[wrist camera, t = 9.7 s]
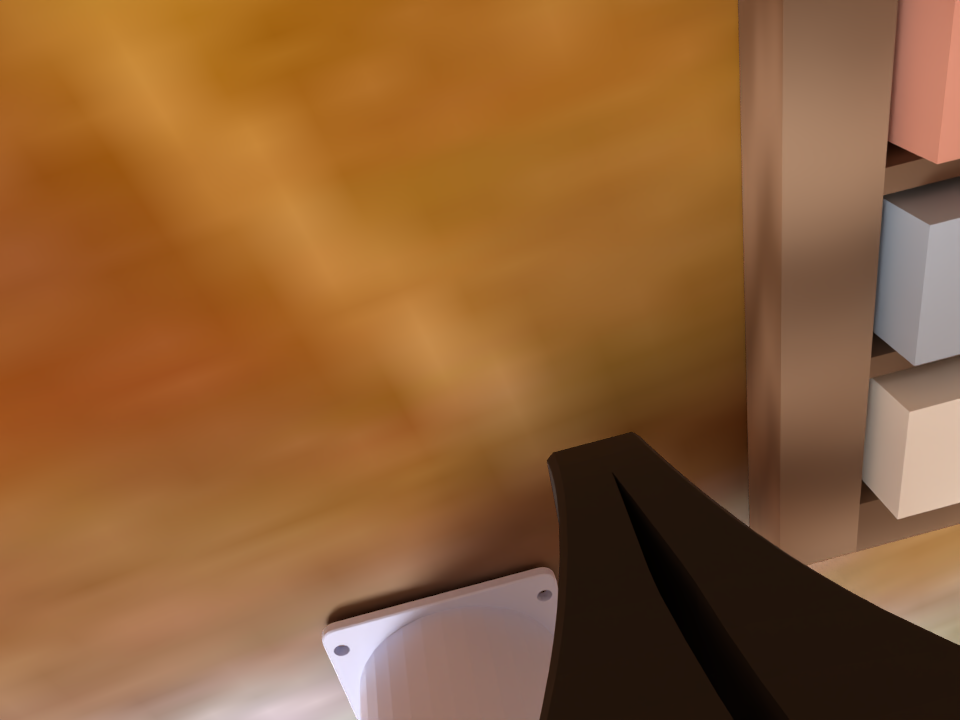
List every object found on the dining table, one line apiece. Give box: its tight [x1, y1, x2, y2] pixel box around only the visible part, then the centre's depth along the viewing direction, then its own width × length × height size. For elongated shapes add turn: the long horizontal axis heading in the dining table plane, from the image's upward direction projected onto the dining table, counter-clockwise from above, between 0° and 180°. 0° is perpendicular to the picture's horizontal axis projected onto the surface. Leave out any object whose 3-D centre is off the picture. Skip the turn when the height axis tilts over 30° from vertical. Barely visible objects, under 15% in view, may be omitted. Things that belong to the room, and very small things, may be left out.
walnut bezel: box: [738, 0, 960, 565], centre depth 22 cm, size 20×10×2 cm, turn 11°
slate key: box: [873, 176, 960, 366], centre depth 22 cm, size 4×4×3 cm
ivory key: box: [862, 355, 960, 519], centre depth 24 cm, size 4×4×3 cm
